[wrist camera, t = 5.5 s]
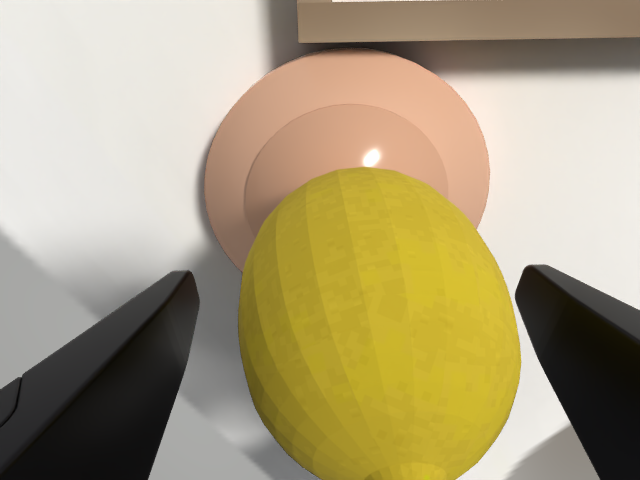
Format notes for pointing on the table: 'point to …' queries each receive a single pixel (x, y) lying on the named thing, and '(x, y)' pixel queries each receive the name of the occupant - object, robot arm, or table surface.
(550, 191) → the table surface
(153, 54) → the table surface
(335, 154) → the saucer
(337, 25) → the wooden picture frame
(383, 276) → the lemon
